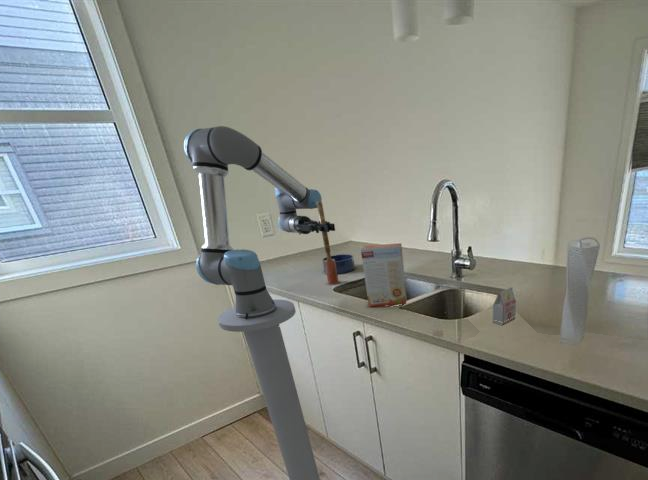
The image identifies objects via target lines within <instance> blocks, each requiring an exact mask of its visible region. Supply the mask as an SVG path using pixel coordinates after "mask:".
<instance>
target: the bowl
mask: <svg viewBox="0 0 648 480" xmlns="http://www.w3.org/2000/svg"><path fill="white" fill-rule="evenodd" d="M331 259H335V263H336V269H337V274H338V275H339V274H345V273H349V272H352V271H353V270H355V268H356V265H355V258H354V255H353V254H347V253H345V254H344V253H342V254H334V255H331ZM325 260H327V256H326V257H323V258H322V259H321V262H322V267H323V268H322V269H323V271H324V273H326V268H325V262H324V261H325Z"/></svg>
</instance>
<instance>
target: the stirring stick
mask: <svg viewBox="0 0 648 480" xmlns="http://www.w3.org/2000/svg"><path fill="white" fill-rule="evenodd" d="M316 209H317V212H318V213H317V214H318V218H319V221H320V224H325V225H326V222H325V221H326V217H325V212H324V206H323V202H322V201H317V208H316ZM321 235H322V241H323V247H324V252H325V254H326V257H327V261H332V260H331V256H332V255H331V247H330V240H329V235H328V232H323V231H321Z"/></svg>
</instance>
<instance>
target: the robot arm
mask: <svg viewBox="0 0 648 480" xmlns="http://www.w3.org/2000/svg"><path fill="white" fill-rule="evenodd" d="M183 150H184V153H185V156H186V157H187V158H188V160H189V162H190V163H191V164H192V166H193V167H192V169H193V170H194V171H195V173H197V175H198V184H199V194H200V204H201V205H200V206H201V215H202V216H201V217H202V225H203V226H202V227H203V234H204V235H203V238H204V239H203V240H204V244H203V245H202V246H201V247H200V252H201V253H200V254H199V255H198V257H197V258H196V260H195V261H196V262H195V268H196V271H197V274H198V275H199V277H200V278H201V279H202V280H203V281H205V282H206V283H209V284H212V285H217V286H221V285H223V286H232V289H233V293H234V294H235V307H236V309H235V312H236V315H237V317H239V318H245V319H247V318H257V317H261V316H265V315H268V314H270V313H272V312H274V311H275V310H276V304H275V302H274V301H273V300H274V299H273V297H272V296H271V294H270V293H269V291H268V290H267V286H266V282H265V277H264V273H263V269H262V266H261V265H262V264H261V261H260V260H259V257H258V254H257V253H256V252H255V251H253V250H251V249H244V248H243V249H234V248H233V247H232V246H231V245H230V233H229V220H228V219H229V218H228V206H227V196H226V184H225V183H226V182H225V178H226V177H227V176H228V175H229V165H236V166H238V167H239V166H240V167H241V168H243V169H245V170H246V171H248V172H249V171H252V172H253V173H255V174H257V175H258V176H259V177H261V178H262V179H263V180H265V181H266V182H268V183H269V184H270V185H272V186H273V187H275V188H274V194H275V199H276V204H277V207H278V212H279V216H278V219H277V225H278V227H279V229H280V230H281V231H284V232H286V233H293V234H298V235H299V236H301V235H309V234H311V232H312V233H314V232H315V233H316V234H319V233H320V232H322V231H323V232H327V233H330V231H331V232H336V228H335V227H336V226H335V223H332V222H330V221H327V220H325V222H326V225H325V224H320V220H318V221H317V220H313V219H311V218H310V217H309V216H308V215H307V216H306V215H298V213H297V210H313V209H314V210H315V209H318V208H317V201H321V202H322V200H323V199H322V195H321V193H320V191H318V190H317V189H313V188H310V189H309V188H308V187H306V185H304V184H303V183H301V182H300V181H299V180H298V179H296V178H295V177H294V176H293V175H292V174H291V173H289V172H288V171H287V170H285V169H284V168H283V167H281V166H280V165H279V164H278V163H276V162H275V161H274V160H273V159H271V158H270V157H269V156H268V155H266V153H264V152H263V150H262V148H261V146H260V145H258V144H257V143H256V142H255V141H254V140H252V139H251V138H249V137H248V136H246V135H245V134H243V133H242V132H239V130H236V129H234V128H233V127H229V126H224V125H219V126H213V127H205V128H196V129H194V130H192V131H190V132H188V133H187V135H186V136H185V138H184V142H183Z"/></svg>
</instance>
